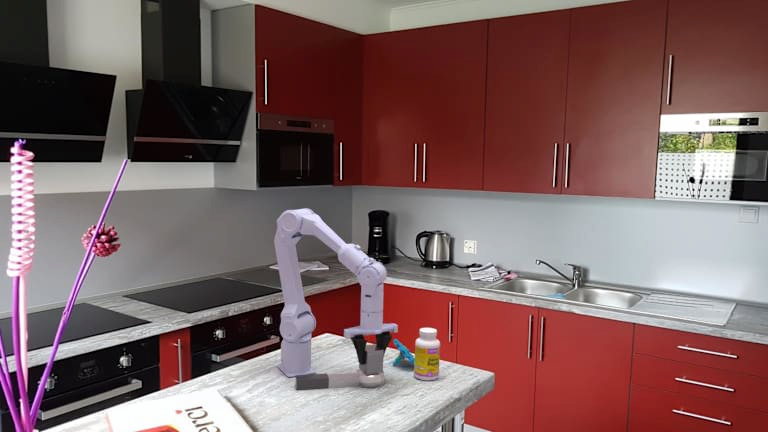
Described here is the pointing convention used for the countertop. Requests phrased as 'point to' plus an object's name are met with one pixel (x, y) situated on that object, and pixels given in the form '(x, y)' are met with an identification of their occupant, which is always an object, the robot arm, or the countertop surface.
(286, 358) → the robot arm
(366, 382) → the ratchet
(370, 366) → the brushed metal cube
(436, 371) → the supplement bottle
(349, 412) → the countertop surface
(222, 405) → the countertop surface
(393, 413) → the countertop surface
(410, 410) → the countertop surface
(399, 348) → the blue branched piece
